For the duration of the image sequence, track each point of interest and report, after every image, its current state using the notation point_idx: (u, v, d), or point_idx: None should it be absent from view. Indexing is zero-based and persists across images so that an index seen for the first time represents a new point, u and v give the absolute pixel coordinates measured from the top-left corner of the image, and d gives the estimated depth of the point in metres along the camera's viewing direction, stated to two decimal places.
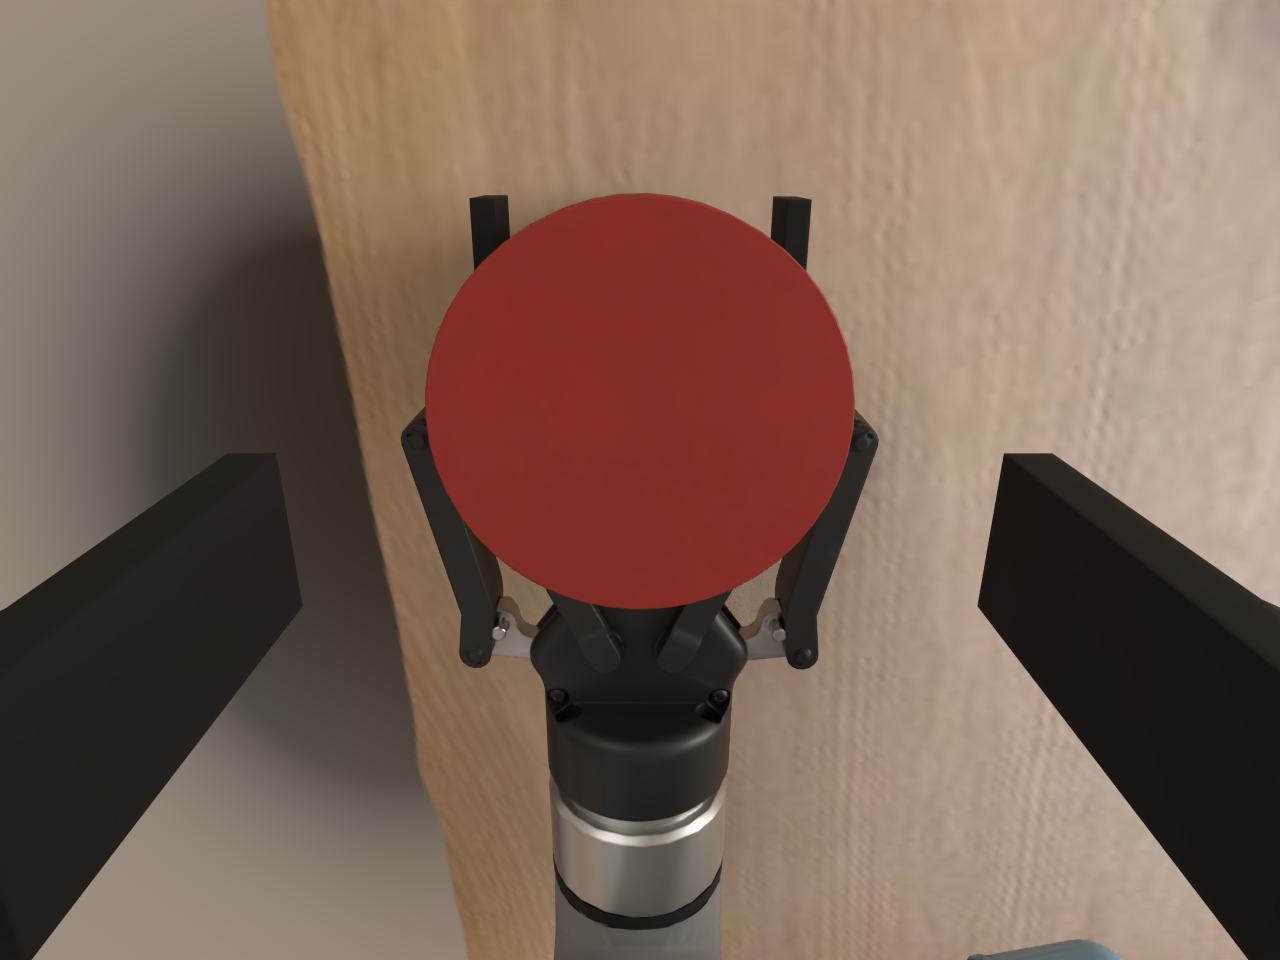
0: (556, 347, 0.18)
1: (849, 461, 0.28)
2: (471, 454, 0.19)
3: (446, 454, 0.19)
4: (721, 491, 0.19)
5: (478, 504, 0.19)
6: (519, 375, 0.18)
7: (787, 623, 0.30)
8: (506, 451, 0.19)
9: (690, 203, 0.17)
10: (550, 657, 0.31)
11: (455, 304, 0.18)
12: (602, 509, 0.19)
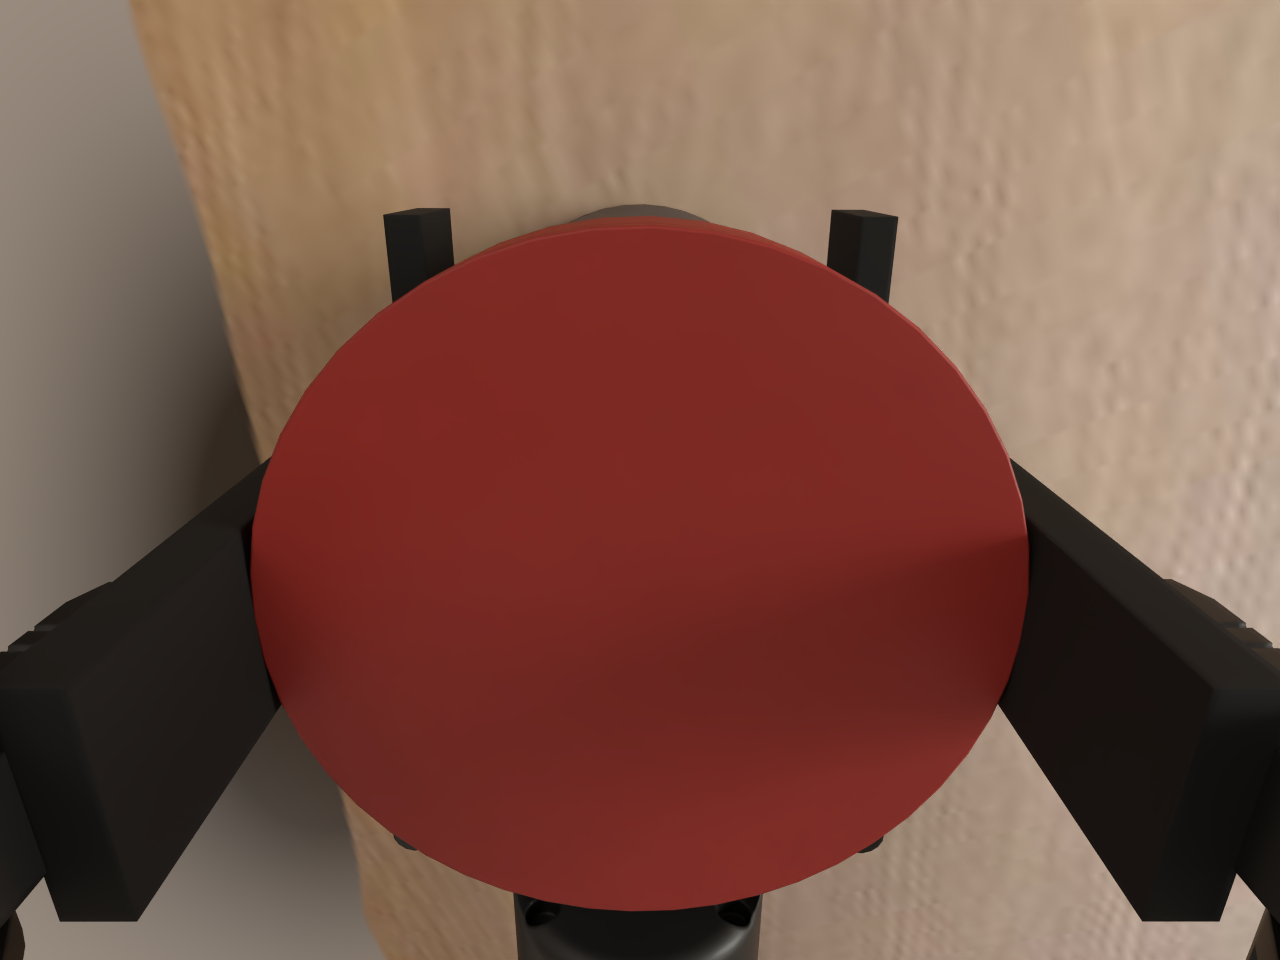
0: (485, 502, 0.10)
1: None
2: (340, 679, 0.11)
3: (295, 679, 0.11)
4: (782, 737, 0.11)
5: (357, 756, 0.11)
6: (419, 549, 0.10)
7: None
8: (402, 674, 0.11)
9: (739, 240, 0.09)
10: None
11: (293, 426, 0.09)
12: (574, 764, 0.11)
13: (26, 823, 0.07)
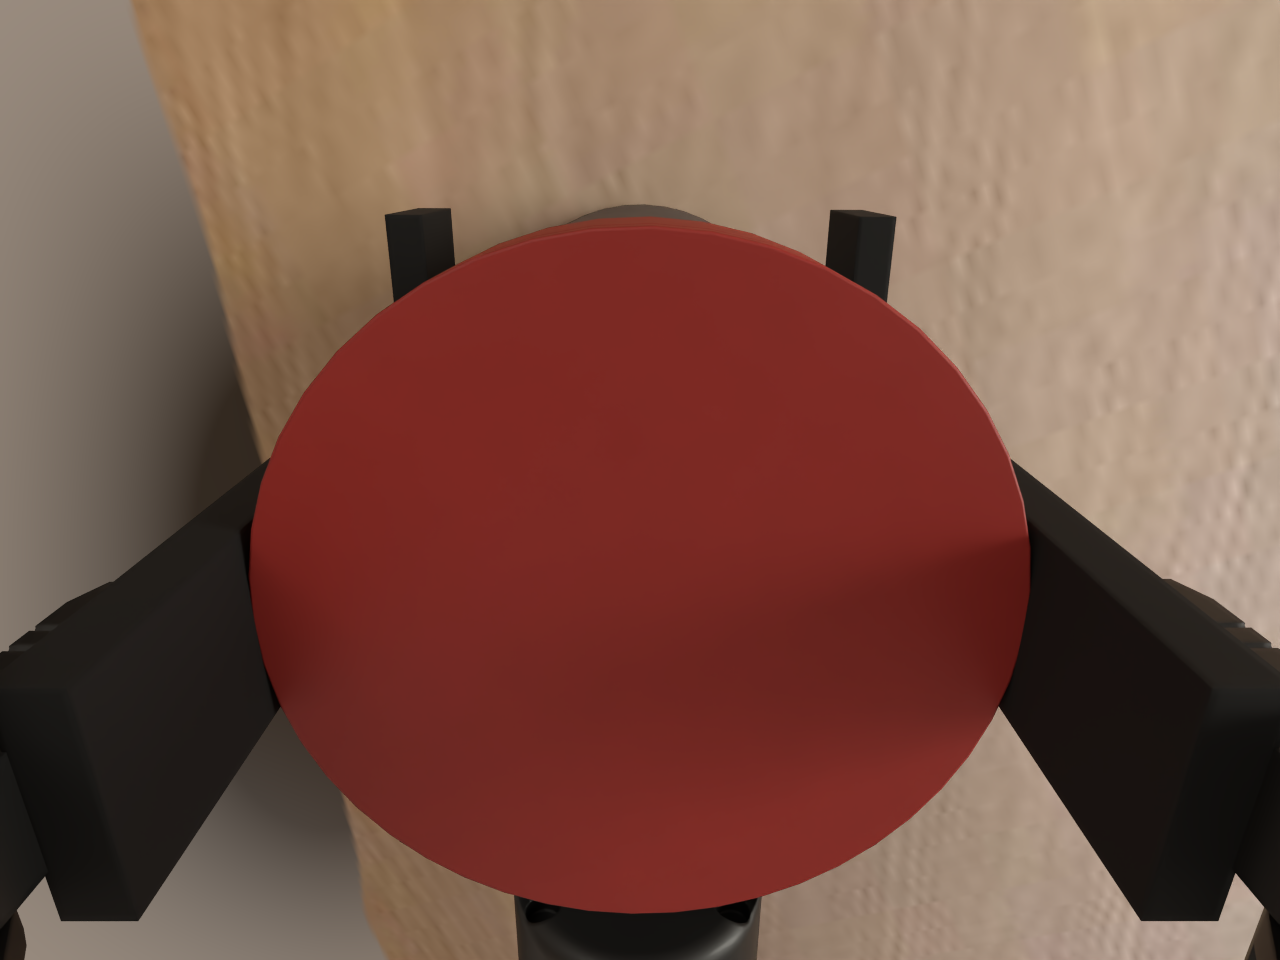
0: (621, 788, 0.11)
1: None
2: (856, 794, 0.11)
3: (877, 820, 0.11)
4: (654, 438, 0.09)
5: (932, 745, 0.11)
6: (695, 804, 0.11)
7: None
8: (819, 759, 0.11)
9: None
10: None
11: (661, 908, 0.12)
12: (821, 587, 0.10)
13: (27, 822, 0.07)
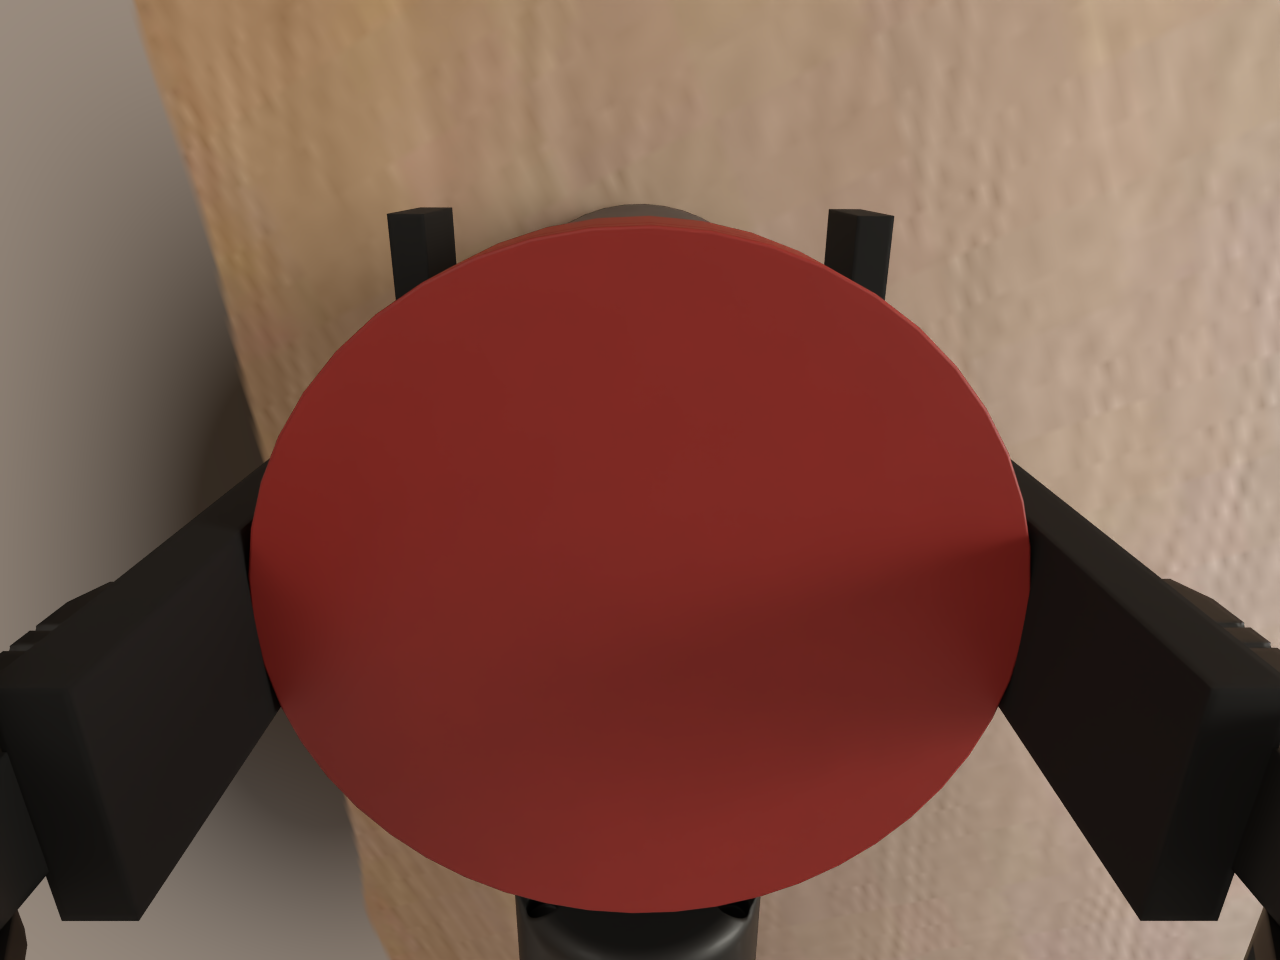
0: (818, 533, 0.10)
1: None
2: (663, 313, 0.09)
3: (678, 260, 0.09)
4: (479, 722, 0.11)
5: (549, 289, 0.09)
6: (790, 456, 0.09)
7: None
8: (650, 386, 0.09)
9: None
10: None
11: (960, 384, 0.09)
12: (485, 527, 0.10)
13: (28, 822, 0.07)
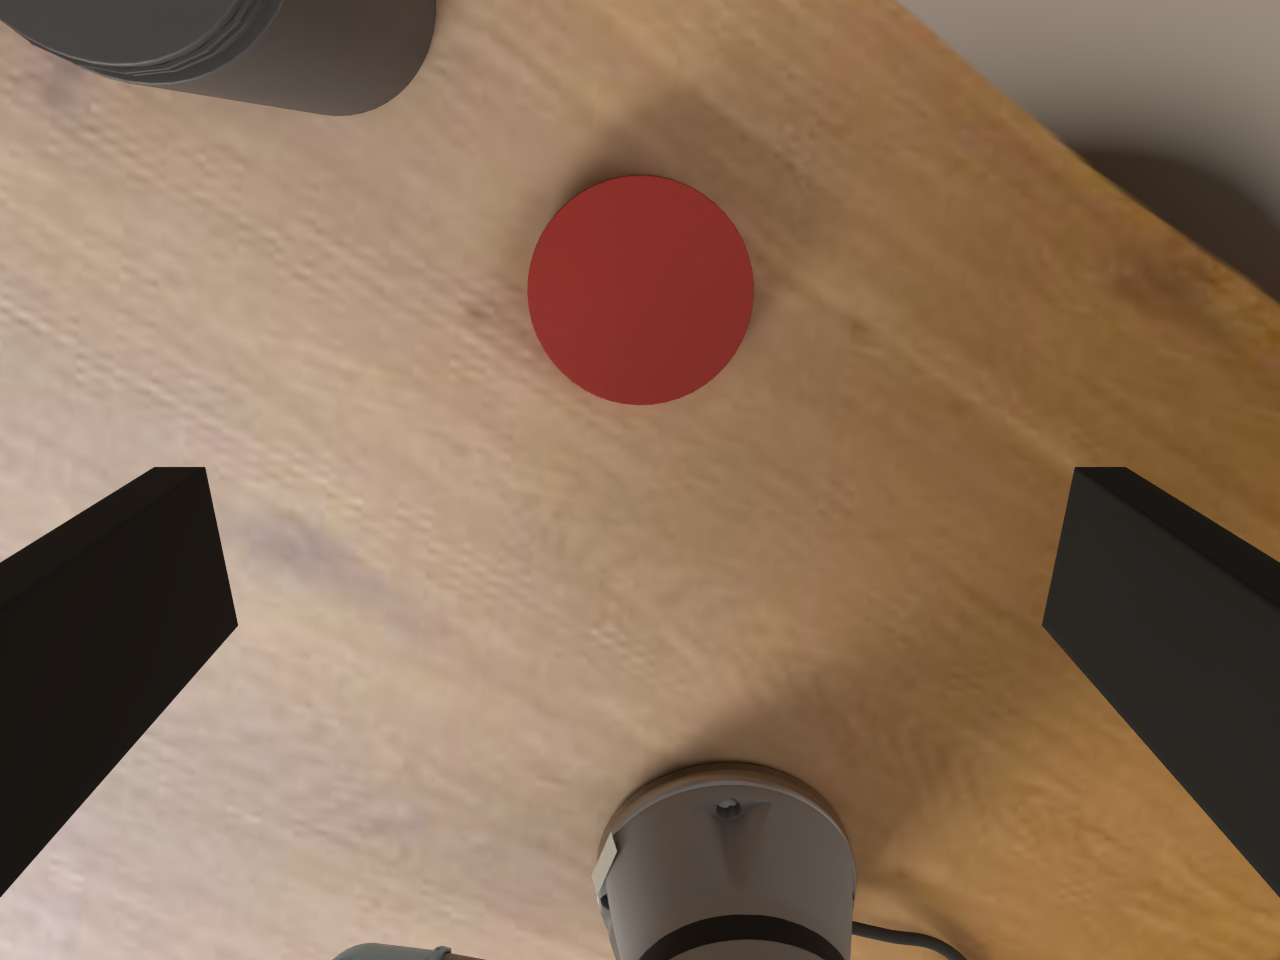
0: (585, 275, 0.35)
1: None
2: (565, 346, 0.36)
3: (554, 351, 0.36)
4: (696, 314, 0.35)
5: (579, 372, 0.36)
6: (573, 296, 0.35)
7: None
8: (582, 338, 0.36)
9: (619, 178, 0.33)
10: None
11: (530, 274, 0.35)
12: (640, 349, 0.36)
13: None
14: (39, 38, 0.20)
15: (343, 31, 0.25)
